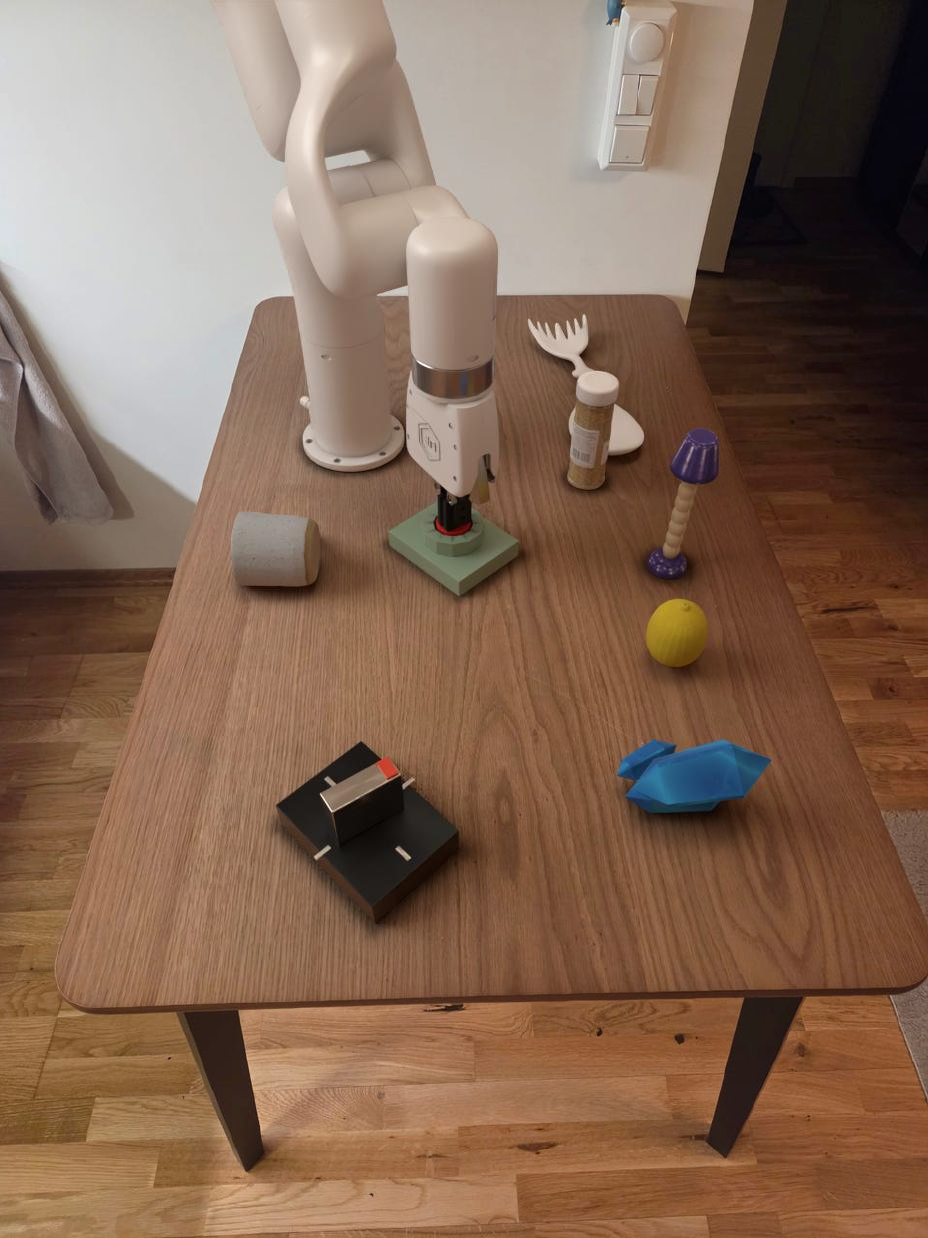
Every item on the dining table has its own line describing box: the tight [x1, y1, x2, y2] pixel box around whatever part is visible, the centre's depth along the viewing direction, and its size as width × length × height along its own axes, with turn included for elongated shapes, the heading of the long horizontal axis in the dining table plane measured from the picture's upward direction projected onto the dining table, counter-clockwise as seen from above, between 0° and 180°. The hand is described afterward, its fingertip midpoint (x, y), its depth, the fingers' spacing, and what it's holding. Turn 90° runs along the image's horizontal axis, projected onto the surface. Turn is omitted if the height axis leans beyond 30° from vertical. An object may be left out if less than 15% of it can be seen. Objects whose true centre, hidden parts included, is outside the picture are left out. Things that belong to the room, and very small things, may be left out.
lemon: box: [645, 598, 709, 668], centre depth 81 cm, size 6×6×8 cm
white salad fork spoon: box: [527, 313, 645, 456], centre depth 114 cm, size 9×32×4 cm, turn 9°
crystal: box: [616, 738, 772, 814], centre depth 70 cm, size 7×9×12 cm
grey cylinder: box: [230, 510, 321, 587], centre depth 90 cm, size 11×8×8 cm
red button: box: [436, 518, 470, 537], centre depth 92 cm, size 4×4×2 cm
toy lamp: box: [646, 428, 720, 580], centre depth 86 cm, size 5×5×17 cm
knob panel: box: [275, 740, 460, 925], centre depth 69 cm, size 12×10×3 cm
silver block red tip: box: [320, 756, 405, 845], centre depth 66 cm, size 6×2×5 cm, turn 124°
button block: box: [388, 500, 520, 597], centre depth 93 cm, size 11×9×4 cm
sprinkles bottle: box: [566, 370, 620, 491], centre depth 98 cm, size 5×5×14 cm
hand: (454, 522), depth 91 cm, fingers closed
